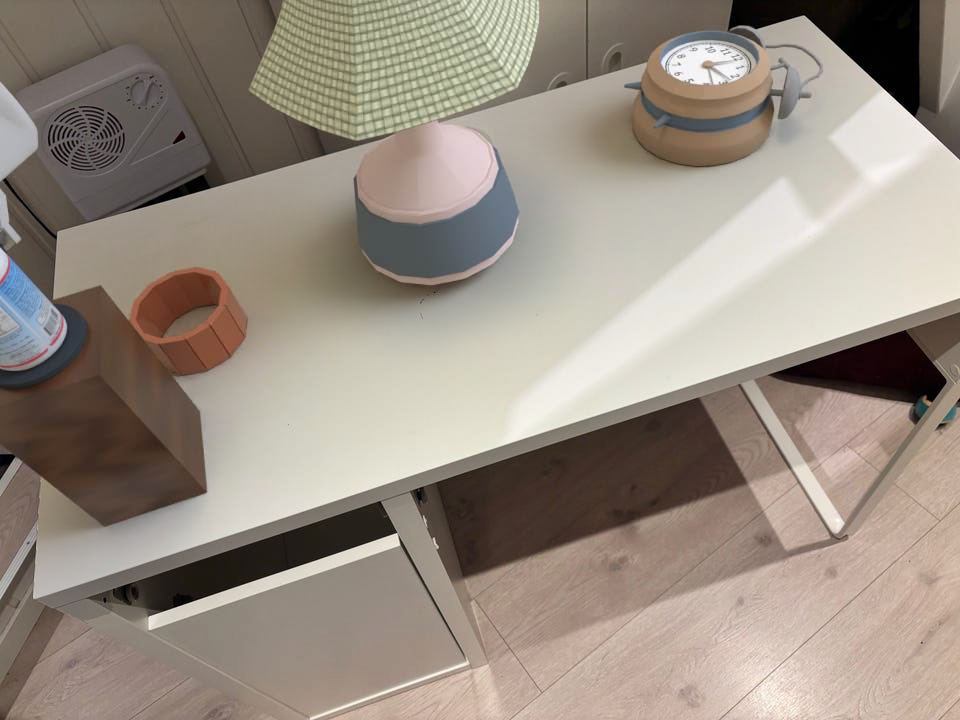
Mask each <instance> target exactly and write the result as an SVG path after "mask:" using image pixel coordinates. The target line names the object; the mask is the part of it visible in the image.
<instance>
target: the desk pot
mask: <svg viewBox="0 0 960 720" xmlns="http://www.w3.org/2000/svg"><path fill="white" fill-rule="evenodd" d="M214 305H216V306H217V307H216V308H215V309H214V310H213V311H212V313H211V314H210V315H209V316H208V318H207V319H206V321H205V322H203V323H201V324H200V325H198V326H196V327H194V328H193V329H191V330H189V331H188V332H186V333H184V334H179V335H173V336H167V337H163V336H164V334H165V333H166V331H168V329H169V328H170V326H172V324H173V323H174V322H175V320H176V319H178V318H180V317H181V316H183V315H185V314H187V313H188V312H190V311H192V310H193V309H196V308H201V307H207V306H214ZM128 320H129V322H130V323H131V324H132V325H133V327H134V328H135V329H136V330H137V332H138V333H139V334H140V336H141V337H142V338H143V339H144V341H145V342H146V343H147V344H148V346H149V347H150V348H151V350H152V351H153V352H154V353H155V355H156V356H157V357H158V358H159V360H160V361H161V362H162V364H163V365H164V366H165V367H166V369H167V370H168V371H169V372H170V373H174V374H178V375H181V376H185V375H193V374H197V373H204V372H208V371H210V370H212V369H214V368H215V367H216V366H218V365H220V364H221V363H223V362H225V361H227V360H228V359H230V358H231V357H232V356H233V355H234V354H235V352H236V351H237V349H238V348H239V347H240V345H241V344H242V342H243V341H244V340H245V338H246V336H247V335H246V334H247V326H248V325H247V324H248V318H247V315H246V313H245V312H244V310H243V309H242V307H241V305H240V304H239V302H238V300H237V298H236V296H235V295H234V293H233V292H232V289H230V287H229V285H228V283H227V282H226V281H225V280H224V278H223V276H221V273H219V272H218V271H216V270H212V269H209V268H204V267H201V266H193V267H187V268H182V269H177V270H174V271H170V272H169V273H167V274H164V275H163V276H161V277H160V278H157V279H156V280H154V281H152V282H150V284H148V285H147V286H146V287H145V288H144V289H143V290H142V292H141V293H140V294H139V295H138V296H137V297H136V299H134V301H133V303H132V306H131V310H130V315H129V319H128Z"/></svg>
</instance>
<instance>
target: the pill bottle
mask: <svg viewBox="0 0 960 720" xmlns="http://www.w3.org/2000/svg"><path fill="white" fill-rule="evenodd" d="M50 301H51V300H49V299H48V298H47V296H45V294H44V293H43V292H42V291H41V290H40V289H39V288H38V286H37V285H35V283H33V281H32V280H31V279H30V278H29V277H28V275H26V274H25V272H24V271H23V270H22V268H20V267H19V266H18V265H17V264H16V262H15V261H13V259H12V258H11V257H10V256H9V255H8V253H7V254H6V253H5V252H4V251H3V250H2V249H1V248H0V369H3V370H8V371H20V370H26V369H29V368H32V367H34V366H37V365H39V364H40V363H42V362H44V361H45V360H47V359H48V358H49V357H50V356H52V355H53V354H54V353H55V352H56V351H57V349H58V348H59V347H60V346H61V344H62V342H63V341H64V339H65V336H66V332H67V324H66V321H65V319H64V317H63V316H62V314H61V313H60V312H59V311H58V310H57V309H56V308H55V306H54V305H53V304H52V303H51V302H50Z"/></svg>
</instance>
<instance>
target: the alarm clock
mask: <svg viewBox="0 0 960 720" xmlns="http://www.w3.org/2000/svg"><path fill="white" fill-rule="evenodd" d="M780 48H792V49H793V48H794V49H797V50H800V51H802V52H803V53H805V54H807V56H809V57H810V58H812V59H813V61H814V62H815V63H816V64H817V66H818V67H819V71H818V72H817V73H816V74H814V75H812V76H810V77H808V78H807V79H805V80H804V81H803V82H802V83H801V76H800V73H799V71H798V69H797V68H796V67H793V66H792V65H791V64H790V63H789V62H788V61H787V60H786V59H785V58H783V57H779V58H778V64H774V65H772V64H771V58H770V55H769V54H768V53H767V51H766V49H780ZM646 63H647V65H646V67H645V69H644V72H643V74H642V76H641V81H635V82H630V83H624V84H623V88H626V89H630V90H636V91H638V92H637V95H636V96H635V99H634V102H633V104H632V105H633V106H632V131H633V133H634V136H635V138H636V140H637V141H638V143H639V144H640V145H641V146H642V147H643V148H644V149H645V150H646V151H648V152H649V153H651V154H653V155H655V156H656V157H657V158H660V159H662V160H665V161H667V162H671V163H674V164H679V165H685V166H692V167H702V166H703V167H707V166H708V167H709V166H717V165H723V164H729V163H732V162H735V161H738V160H740V159H743V158H745V157H748V156H749V155H750V154H752V153H754V152H755V151H757V150H758V149H759V148H760V147H761V146H762V145H763V144H764V142H766V140H767V139H768V137H769V134H770V131H771V128H772V123H773V119H774V114H775V103H774V99H773V98H774V97H781V98H780V103H779V109H778V114H777V119H778V120H785V119H787V118H788V117H790V115H792V113H793V112H794V110H795V108H796V106H797V103H798V101H800V100H801V99H810V98H812V97H813V93H812V92H811V91H802V90H803V88H804V87H805V86H806V85H808V83H810V82H811V81H813V80H817V79H818V78H819V77H820V76H821V75H822V74H823V72H824V64H823V63H822V61H821V60H820V59H819V57H818V56H817V55H816V54H815V53H813V52H812V51H811V50H810V49H808V48H806V47H805V46H803V45H801V44H797V43H787V42H785V43H778V44H766V41H765V39H764V37H763V35H762V34H761V33H760V32H759V31H758V30H757V29H755V28H754V27H752V26H750V25H737V26H735V27H732V28H730V29H729V30H728V31H723V30H722V31H721V30H699V31H694V32H693V31H692V32H689V33H684V34H680V35H679V36H675V37H673V38H670V39H668V40H666V41H665V42H663V43H662V44H660V45H658V46H657V47H656V48H655V49H654V50H653V51H652V52H651V53H650V56H649V57H648V60H647V62H646ZM783 68H784V69H785V70H786V75H785V79H784V84H783V87H782V89H776V88H775V89H774V88H773V84H774V79H773V74H772V71H774V70H778V69H783Z"/></svg>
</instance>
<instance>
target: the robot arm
mask: <svg viewBox="0 0 960 720" xmlns="http://www.w3.org/2000/svg"><path fill="white" fill-rule="evenodd" d="M38 148H39V131H38V128H37V125H36V124H35V123H34V121H33V120H32V118H31V117H30V115H29V114H28V113H27V112H26V110H25V109H24V108H23V107H22V105H21V104H20V103H19V102H18V100H17V99H16V97H14V95H13V94H12V93H11V92H10V91H9V90H8V89H7V88H6V86H5V85H4V84H3V83H2V82H1V81H0V183H1V182H2V181H3V180H4V179H6V178H7V177H8V176H9V175H10V174H11V173H13V172H14V171H15V170H16V169H17V168H18V167H19V166H20V165H21V164H23V163H24V162H25V161H26V160H27V159H29V158H30V157H31V156H32V155H33V154H34V153H35V152H36V151H37V150H38ZM21 241H22V238H21V236H20V235H19V234H18V233H17V232H16V230H15V229H14V228H13V227H12V225H11V224H10V215H9V209H8V201H7V195H6V194H5V192H4V191H3V190H2V189H1V188H0V248H1V249H2V250H3V251H4V252H5V253H6V254H7V255H8V253H9V252H10V251H11V250H12V249H13V248H14V247H15V246H16V245H17V244H19V242H21Z"/></svg>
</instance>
